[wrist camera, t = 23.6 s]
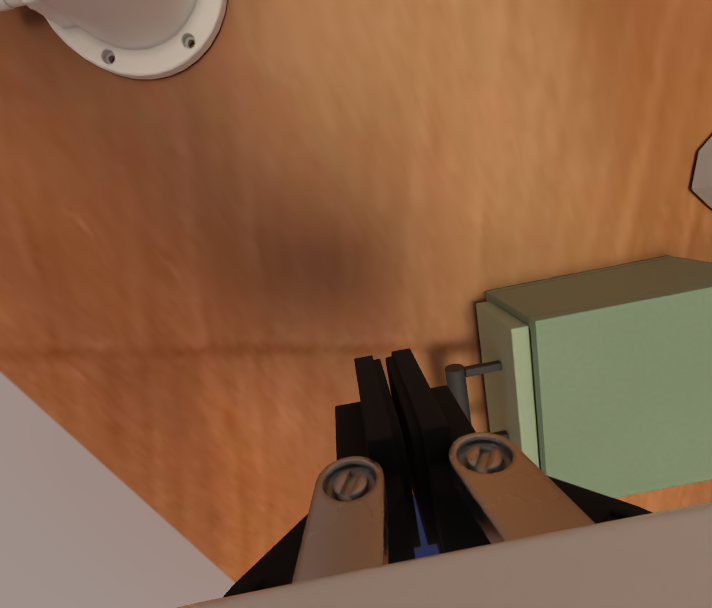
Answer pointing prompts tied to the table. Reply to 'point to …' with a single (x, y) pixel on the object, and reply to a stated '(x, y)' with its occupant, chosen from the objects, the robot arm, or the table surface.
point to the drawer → (503, 378)
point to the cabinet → (622, 373)
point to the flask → (704, 174)
